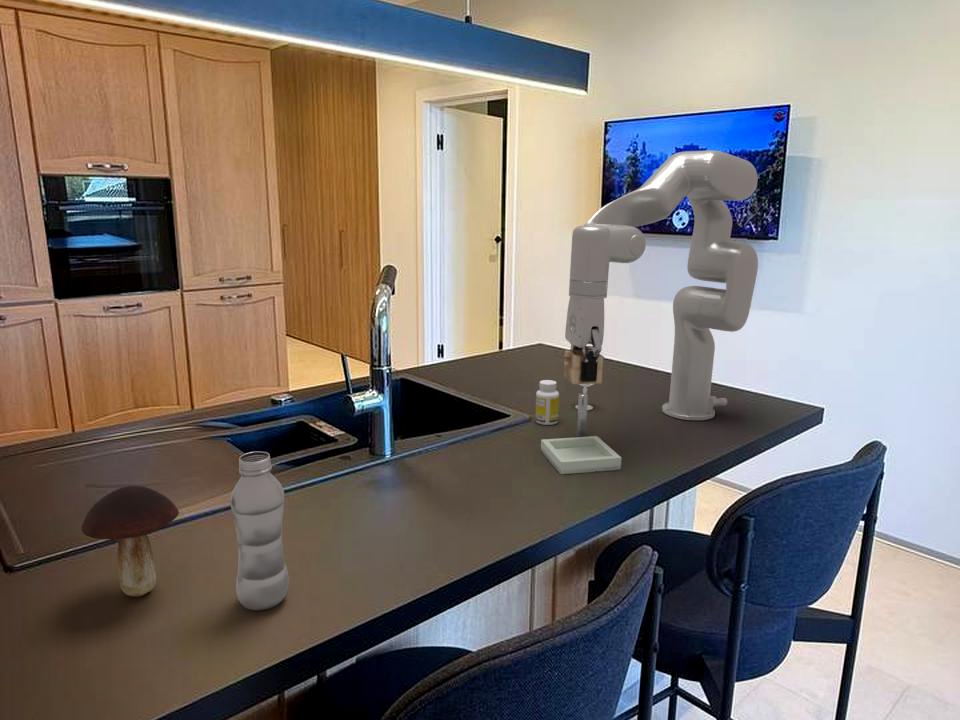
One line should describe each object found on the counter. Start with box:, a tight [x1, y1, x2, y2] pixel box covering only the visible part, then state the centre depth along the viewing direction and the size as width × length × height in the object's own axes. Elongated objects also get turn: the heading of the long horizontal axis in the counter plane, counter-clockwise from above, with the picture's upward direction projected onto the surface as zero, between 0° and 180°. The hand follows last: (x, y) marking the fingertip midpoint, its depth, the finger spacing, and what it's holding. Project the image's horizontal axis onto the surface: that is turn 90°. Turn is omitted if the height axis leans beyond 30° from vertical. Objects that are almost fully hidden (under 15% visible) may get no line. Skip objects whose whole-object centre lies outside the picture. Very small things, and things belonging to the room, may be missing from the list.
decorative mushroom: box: [80, 485, 180, 598], centre depth 86 cm, size 11×11×15 cm
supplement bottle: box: [535, 379, 560, 426], centre depth 157 cm, size 5×5×10 cm
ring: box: [563, 349, 605, 385], centre depth 136 cm, size 6×8×6 cm
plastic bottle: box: [229, 450, 290, 611], centre depth 84 cm, size 6×7×20 cm
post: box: [576, 392, 589, 437], centre depth 146 cm, size 2×2×10 cm
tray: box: [540, 435, 622, 475], centre depth 135 cm, size 12×12×2 cm
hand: (582, 376), depth 136 cm, fingers closed on ring, 6 cm apart
